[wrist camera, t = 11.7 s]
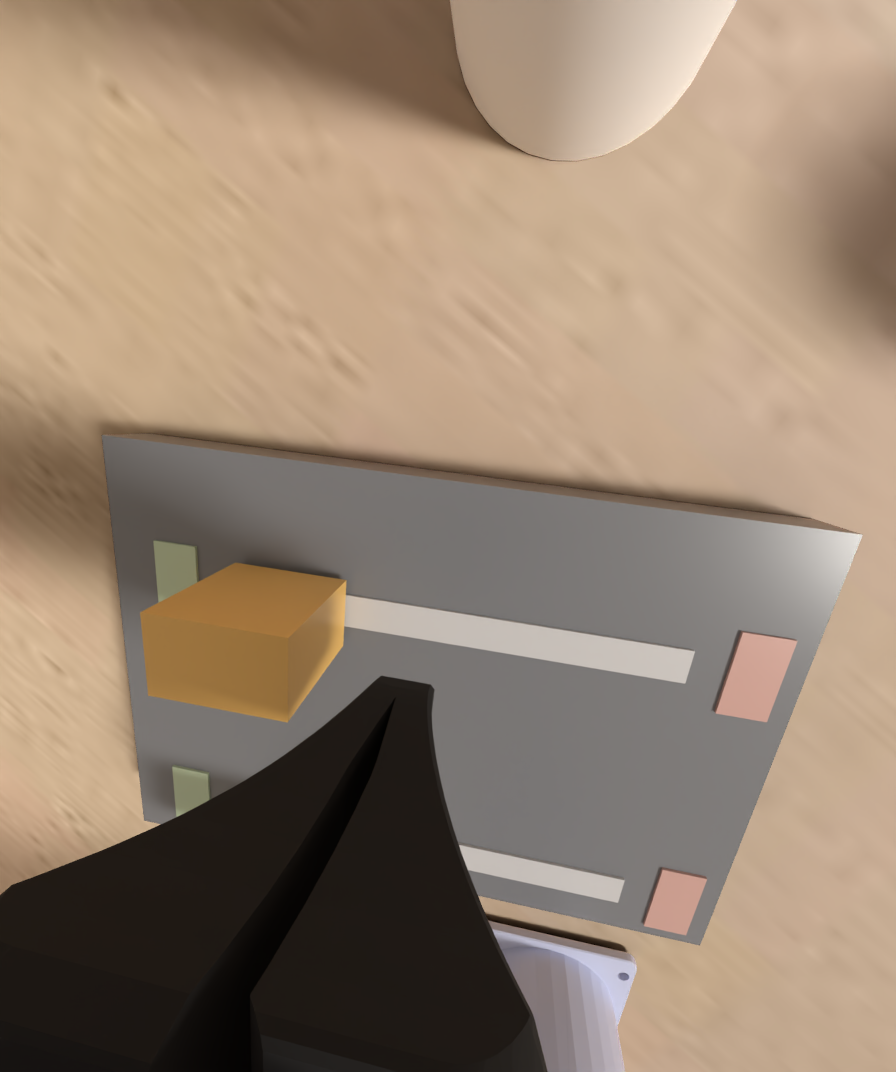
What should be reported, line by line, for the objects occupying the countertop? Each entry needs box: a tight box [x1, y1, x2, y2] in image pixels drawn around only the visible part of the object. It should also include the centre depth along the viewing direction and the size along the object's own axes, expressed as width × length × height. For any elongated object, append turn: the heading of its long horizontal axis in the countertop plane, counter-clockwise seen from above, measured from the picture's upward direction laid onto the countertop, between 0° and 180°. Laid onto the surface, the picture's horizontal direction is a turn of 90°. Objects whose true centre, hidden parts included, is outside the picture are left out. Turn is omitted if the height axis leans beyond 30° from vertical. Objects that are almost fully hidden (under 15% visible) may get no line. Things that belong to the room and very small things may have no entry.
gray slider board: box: [102, 433, 862, 945], centre depth 17 cm, size 17×24×2 cm
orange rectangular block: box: [140, 563, 346, 723], centre depth 13 cm, size 2×4×4 cm, turn 84°
